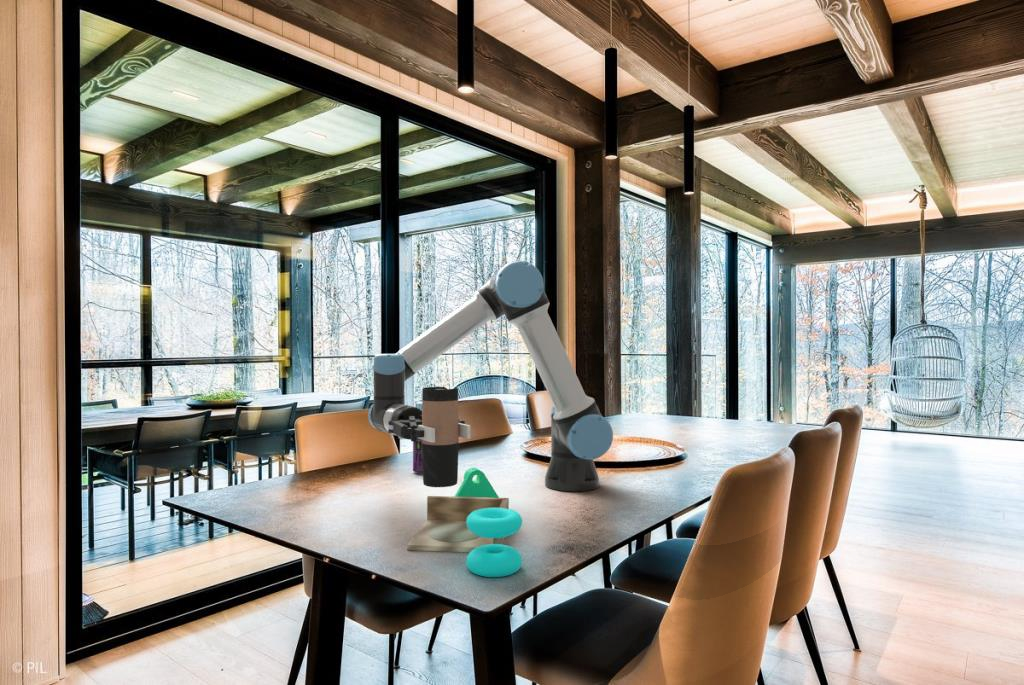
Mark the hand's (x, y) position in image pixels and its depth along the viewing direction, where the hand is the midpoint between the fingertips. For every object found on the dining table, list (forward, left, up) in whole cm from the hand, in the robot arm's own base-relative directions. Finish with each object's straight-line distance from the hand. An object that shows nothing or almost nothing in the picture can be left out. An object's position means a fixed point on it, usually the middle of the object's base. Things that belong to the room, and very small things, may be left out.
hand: (451, 433), depth 125 cm
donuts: (-11, +14, -22) cm, 28 cm away
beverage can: (+20, -63, -22) cm, 70 cm away
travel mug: (+3, -4, -11) cm, 12 cm away
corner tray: (-2, -3, -22) cm, 22 cm away
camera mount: (0, -24, -22) cm, 33 cm away
